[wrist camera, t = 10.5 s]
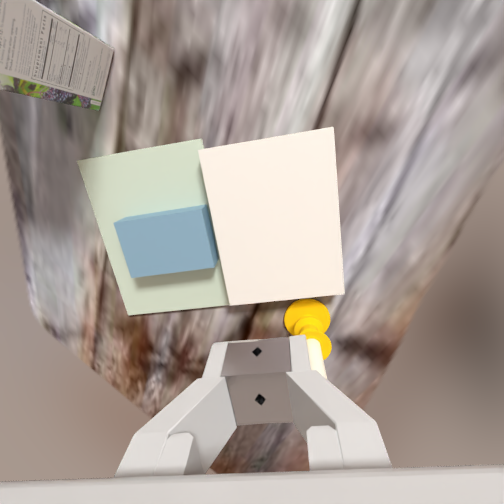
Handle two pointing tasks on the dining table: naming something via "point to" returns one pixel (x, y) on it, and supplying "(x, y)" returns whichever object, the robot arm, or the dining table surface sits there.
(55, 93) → the syrup box
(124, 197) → the mat
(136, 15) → the dining table surface
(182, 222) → the tile
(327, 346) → the candle
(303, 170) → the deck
